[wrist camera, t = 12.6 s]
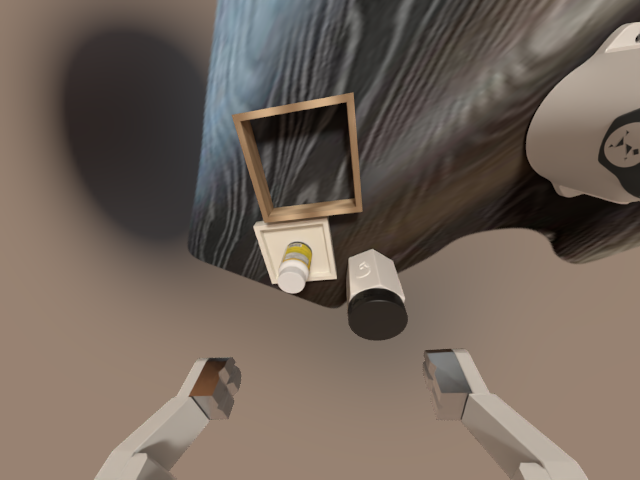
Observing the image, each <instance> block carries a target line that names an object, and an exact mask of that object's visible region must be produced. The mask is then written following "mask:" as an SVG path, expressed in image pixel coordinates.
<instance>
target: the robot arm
mask: <svg viewBox="0 0 640 480" xmlns="http://www.w3.org/2000/svg"><path fill="white" fill-rule="evenodd" d="M637 36H638V39H637V41H636V42H635V39H636V37H637ZM526 154H527V158H528V161H529V163H530V165H531V167H532V168H533V169H534V170H535V171H536V172H537V173H538V174H539V175H541V176H543V177H545V178H546V179H548V180H549V181H551V182H552V184H553V186H554V189H555V191H556V192H557V193H558V194H559V195H561V196H564V197H574V196H578V195H581V194H587V195H590V196H594V197H597V198H601V199H604V200H607V201H611V202H614V203H618V204H628V203H630V202H635V201H640V22H636V23H629V24H624V25H622V26H621V27H619V28H618V29H616V30H615V31H614V32H613V33H612V34H611V35H610V36H609V37H608V38H607V40H606V41H605V42H604V43H603V44H602V45H601V47H600V48H599V49H598V50H597V51H596V53H595V54H594V55H593V56H592V57H591V58H590V59H589V60H587V61H586V62H585V63H583V64H582V65H581V66H579V67H578V68H577V69H575V70H574V71H572V72H571V73H570V74H569V75H567V76H566V77H565V78H564V79H563V80H562V81H561V82H559V83H558V84H557V85H556V86H555V87H554V89H553V90H552V91H551V92H550V93H549V94H548V95H547V97H546V98H545V99H544V101H543V102H542V103H541V105H540V107H539V108H538V110H537V112H536V113H535V115H534V117H533V119H532V122H531V124H530V127H529V130H528V134H527V139H526ZM424 358H425V361H424V362H423V374H424V379H425V383H426V386H427V388H428V389H429V390H430V391H431V392H432V394H431V402H432V406H433V409H434V412H435V415H436V419H437V420H462V421H461V422H462V423H463V424H464V426H465V427H466V428H467V429H468V430H469V431H470V433H471V434H472V435H473V436H474V437H475V438H476V439H477V441H478V442H479V443H480V444H481V445H482V446H483V448H484V449H485V450H486V451H487V452H488V453H489V454H490V456H491V457H492V458H493V459H494V460H495V461H496V463H498V465H499V466H500V467H501V468H502V469H503V471H504V472H505V473H506V474H507V475H508V476H509V478H510V480H588V478H587V477H586V475H585V474H584V472H583V470H582V469H581V467H580V466H579V465H578V463H577V462H576V461H575V460H573V459H572V458H571V457H570V456H569V455H567V454H566V453H565V452H564V451H563V450H562V449H560V448H559V447H558V446H557V445H556V444H554V443H553V442H552V441H551V440H550V439H548V438H547V437H546V436H545V435H544V434H542V433H541V432H540V431H539V430H537V429H536V428H535V427H534V426H533V425H532V424H530V423H529V422H528V421H527V420H526V419H524V418H523V417H522V416H521V415H520V414H518V413H517V412H516V411H515V410H514V409H512V408H511V407H510V406H509V405H508V404H506V403H505V402H504V401H503V400H502V399H501V398H499V397H498V396H497V395H496V394H492V393H490V392H489V390H488V388H487V386H486V385H485V383H484V381H483V379H482V377H481V375H480V373H479V371H478V369H477V367H476V365H475V363H474V362H473V360H472V358H471V356H470V354H469V352H468V351H467V350H466V349H441V350H425V351H424ZM234 364H235V360H234V359H233V358H232V357H229V358H228V357H227V358H199V359H198V360H197V361H196V362H195V364H194V366H193V368H192V370H191V371H190V373H189V375H188V377H187V379H186V380H185V382H184V384H183V386H182V388H181V389H180V391H179V393H178V395H177V397H173V398H172V399H171V400H169V401H168V402H167V403H166V404H165V405H164V406H163V407H161V408H160V409H159V410H158V411H157V412H156V413H155V414H154V415H152V416H151V417H150V418H149V419H148V420H147V421H146V422H145V423H143V424H142V425H141V426H140V427H139V428H138V429H137V430H136V431H135V432H133V433H132V434H131V435H130V436H129V437H128V438H127V439H125V440H124V441H123V442H122V443H121V444H120V445H119V446H118V447H117V448H115V449H114V450H113V451H112V452H111V454H110V456H109V457H108V459H107V460H106V462H105V463H104V465H103V466H102V468H101V470H100V471H99V473H98V474H97V476H96V477H95V479H94V480H177V478H176V477H175V476H173V475H172V474H171V473H170V472H169V470H170V469H171V468H172V467H173V466H174V464H175V463H176V462H177V461H178V459H179V458H180V457H181V456H182V454H183V453H184V452H185V451H186V450H187V448H188V447H189V446H190V445H191V443H192V442H193V441H194V440H195V438H196V437H197V436H198V435H199V433H200V432H201V431H202V430H203V429H204V427H205V426H206V425H207V424H208V422H209V420H216V419H229V416H230V413H231V410H232V407H233V404H234V398H233V396H234V394H235V393H236V392H237V391H238V390H239V387H240V384H241V371H240V369H239V368H238V367H237V366H235V365H234Z"/></svg>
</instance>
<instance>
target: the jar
mask: <svg viewBox="0 0 640 480" xmlns="http://www.w3.org/2000/svg"><path fill="white" fill-rule="evenodd" d="M346 288H347V314H348V321H349V326H350V328H351V330H352V331H353V332H354V333H355V334H357V335H358V336H360V337H362V338H365V339H368V340H386V339H390V338H393V337H395V336H397V335H398V334H400V333H401V332H402V331H403V330H404V328H405V327H406V325H407V322H408V316H407V313H406V310H405V306H404V301H405V297H404V293H403V291H402V287H401V284H400V281H399V278H398V275H397V272H396V269H395V266H394V263H393V261H392V260H390V259H389V258H387V257H385V256H384V255H382V254H380V253H379V252H377V251H375V250H374V249H371V250H368V251H366V252H363V253H361V254H358V255H355V256H353V257H350V258H349V259H348V266H347V274H346Z"/></svg>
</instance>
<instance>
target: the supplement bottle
mask: <svg viewBox="0 0 640 480" xmlns="http://www.w3.org/2000/svg"><path fill="white" fill-rule="evenodd" d="M311 259H312V249H311V247H310V246H309V245H308V244H307V243H305V242H303V241H293V242H291V243H289V244H288V245H287V247H286V249H285V252H284V255H283V258H282V261H281V264H280V267H279V271H278V272H279V277H278V285H279V287H280V288H281V289H282V290H283V291H285V292H287V293H298V292H300V291H301V290H302V289H303V288H304V286H305V282H306V280H307V279H308V276H309V272H310V265H311Z"/></svg>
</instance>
